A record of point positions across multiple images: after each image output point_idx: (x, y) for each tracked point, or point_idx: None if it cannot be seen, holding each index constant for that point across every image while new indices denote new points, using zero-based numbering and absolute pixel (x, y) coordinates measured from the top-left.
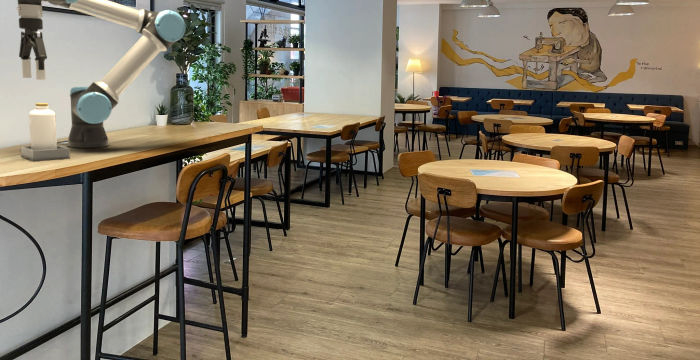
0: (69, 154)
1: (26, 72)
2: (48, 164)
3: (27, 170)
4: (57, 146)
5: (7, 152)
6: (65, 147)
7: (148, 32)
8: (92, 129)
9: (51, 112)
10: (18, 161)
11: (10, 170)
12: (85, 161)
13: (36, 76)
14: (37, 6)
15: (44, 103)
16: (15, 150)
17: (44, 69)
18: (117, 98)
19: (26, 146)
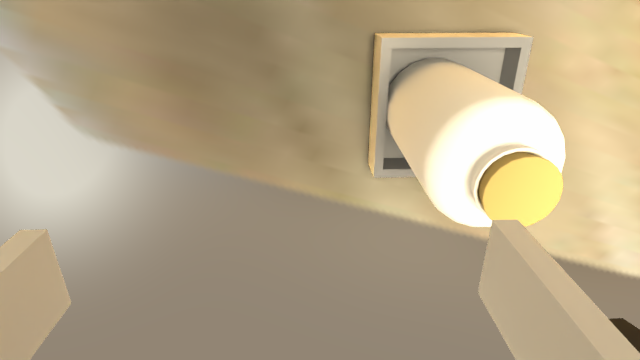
0: (520, 34)
1: (23, 321)
2: (575, 142)
3: (621, 220)
4: (423, 47)
5: (246, 171)
6: (495, 38)
7: None
8: None
9: (560, 137)
10: None
11: (587, 252)
12: (616, 7)
13: (493, 315)
14: None
15: (534, 180)
16: (205, 135)
17: (590, 306)
18: None
19: (378, 159)
